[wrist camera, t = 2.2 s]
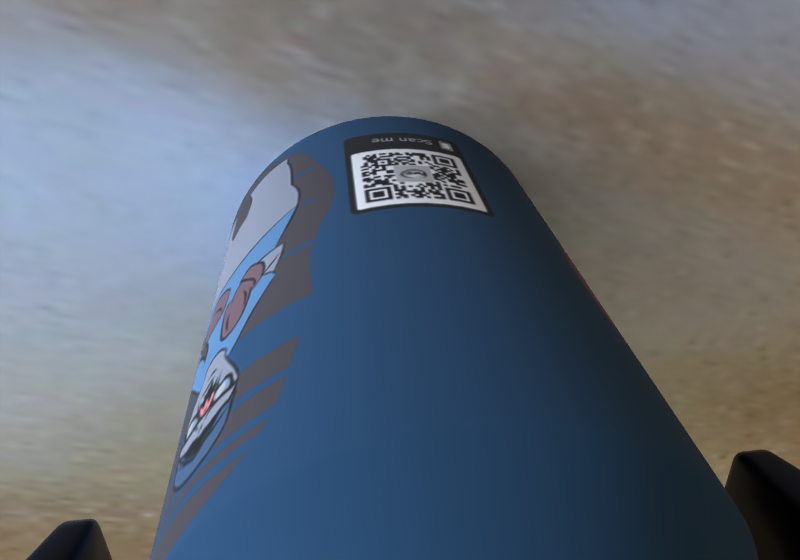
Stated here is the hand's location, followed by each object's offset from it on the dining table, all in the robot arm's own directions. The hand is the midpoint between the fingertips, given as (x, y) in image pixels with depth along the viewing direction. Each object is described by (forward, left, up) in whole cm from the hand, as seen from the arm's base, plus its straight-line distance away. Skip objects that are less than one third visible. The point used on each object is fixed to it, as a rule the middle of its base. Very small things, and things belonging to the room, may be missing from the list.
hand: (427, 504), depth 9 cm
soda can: (0, 0, -8) cm, 8 cm away
